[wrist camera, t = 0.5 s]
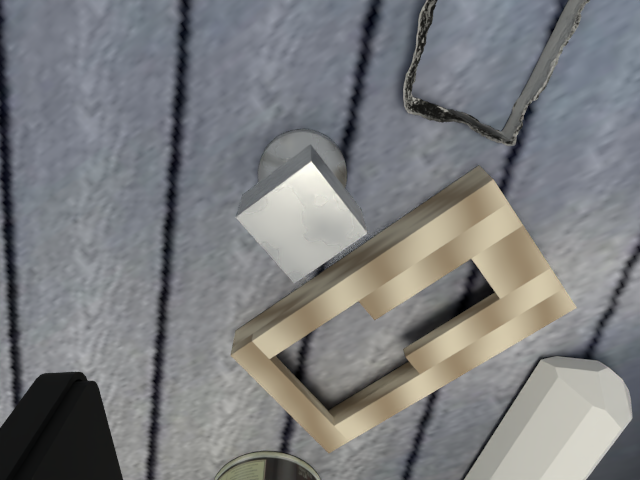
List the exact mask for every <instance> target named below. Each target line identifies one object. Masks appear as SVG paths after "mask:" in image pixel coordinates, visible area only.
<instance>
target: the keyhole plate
mask: <svg viewBox="0 0 640 480" xmlns="http://www.w3.org/2000/svg"><path fill="white" fill-rule="evenodd" d="M470 259H472V260H473V262H474V263H475V264H476V266H477V267H478V269H479V270H480V271H481V273H482V274H483V276H484V277H485V278H486V280H487V281H488V283H489V284H490V285H491V287H492V288H493V290H494V291H495V293H493V294H492V295H490V296H488V297H487V298H485V299H484V300H482V301H480V302H479V303H477V304H476V305H474V306H472V307H471V308H469V309H467V310H466V311H464V312H463V313H461V314H459V315H458V316H456V317H454V318H453V319H451V320H450V321H448V322H446V323H445V324H443V325H441V326H440V327H438V328H437V329H435V330H433V331H432V332H430V333H428V334H427V335H425V336H424V337H422V338H420V339H419V340H417V341H416V342H414V343H412V344H411V345H409V346H407V347H406V348H404V349H403V350H404V354H405V357H406V358H407V359H408V361H409V362H407V363H405V364H404V365H402V366H401V367H399V368H397V369H396V370H394V371H392V372H391V373H389V374H387V375H386V376H384V377H382V378H381V379H379V380H378V381H376V382H374V383H373V384H371V385H369V386H368V387H366V388H364V389H363V390H361V391H359V392H358V393H356V394H355V395H353V396H351V397H350V398H348V399H346V400H345V401H343V402H341V403H340V404H338V405H336V406H335V407H333V408H332V409H330V410H327V409H326V408H325V407H324V406H323V405H322V404H321V402H320V401H319V400H318V399H317V398H316V397H315V396H314V395H313V394H312V393H311V392H310V391H309V390H308V389H307V388H306V387H305V386H304V385H303V384H302V383H301V382H300V381H299V380H298V379H297V377H296V376H295V375H294V374H293V373H292V372H291V371H290V370H289V369H288V368H287V367H286V366H285V365H284V364H283V363H282V362H281V361H280V360H279V359H278V358H277V357H276V356H275V355H277V354H278V353H280V352H281V351H283V350H284V349H286V348H287V347H289V346H290V345H292V344H294V343H295V342H297V341H298V340H300V339H301V338H303V337H304V336H306V335H307V334H309V333H310V332H312V331H313V330H315V329H316V328H318V327H320V326H321V325H323V324H324V323H326V322H327V321H329V320H330V319H332V318H333V317H335V316H336V315H338V314H339V313H341V312H342V311H344V310H346V309H347V308H349V307H350V306H352V305H353V304H355V303H356V302H358V301H359V302H360V303H361V305H362V306H363V307H364V308H365V309H366V311H367V312H368V313H369V314H370V315H371V317H372V318H373V319H374V320H376V319H378V318H379V317H381V316H382V315H384V314H385V313H387V312H388V311H390V310H392V309H393V308H395V307H396V306H398V305H399V304H401V303H403V302H404V301H406V300H407V299H409V298H410V297H412V296H414V295H415V294H417V293H418V292H420V291H421V290H423V289H424V288H426V287H428V286H429V285H431V284H432V283H434V282H435V281H437V280H439V279H440V278H442V277H443V276H445V275H446V274H448V273H449V272H451V271H453V270H454V269H456V268H457V267H459V266H460V265H462V264H464V263H465V262H467V261H468V260H470ZM575 308H577V307H576V306H575V304H574V303H573V301H572V300H571V298H570V297H569V295H568V294H567V292H566V291H565V289H564V287H563V286H562V284H561V283H560V281H559V280H558V278H557V277H556V275H555V274H554V272H553V270H552V269H551V267H550V266H549V264H548V263H547V261H546V260H545V258H544V257H543V255H542V254H541V252H540V250H539V249H538V247H537V246H536V244H535V243H534V241H533V240H532V238H531V237H530V235H529V234H528V232H527V230H526V229H525V227H524V226H523V224H522V223H521V221H520V220H519V218H518V217H517V215H516V214H515V212H514V210H513V209H512V207H511V206H510V204H509V203H508V201H507V200H506V198H505V197H504V195H503V194H502V192H501V190H500V189H499V187H498V186H497V184H496V183H495V181H494V180H493V179H492V178H491V177H490V176H489V175H488V174H487V173H486V172H485V171H484V170H483V169H482V168H481V167H480V166H477V167H476V168H474V169H473V170H471V171H470V172H468V173H467V174H465V175H464V176H463V177H461V178H460V179H458V180H457V181H455V182H454V183H452V184H451V185H449V186H448V187H446V188H445V189H443V190H442V191H440V192H439V193H438V194H436V195H435V196H433V197H432V198H430V199H429V200H427V201H426V202H424V203H423V204H421V205H420V206H418V207H417V208H416V209H414V210H413V211H411V212H410V213H408V214H407V215H405V216H404V217H402V218H401V219H399V220H398V221H396V222H395V223H393V224H392V225H391V226H389V227H388V228H386V229H385V230H383V231H382V232H380V233H379V234H377V235H376V236H374V237H373V238H371V239H370V240H368V241H367V242H366V243H364V244H363V245H361V246H360V247H358V248H357V249H355V250H354V251H352V252H351V253H349V254H348V255H346V256H345V257H344V258H342V259H341V260H339V261H338V262H336V263H335V264H333V265H332V266H330V267H329V268H327V269H326V270H324V271H323V272H321V273H320V274H319V275H317V276H316V277H314V278H313V279H311V280H310V281H308V282H307V283H305V284H304V285H302V286H301V287H299V288H298V289H297V290H295V291H294V292H292V293H291V294H289V295H288V296H286V297H285V298H283V299H282V300H280V301H279V302H277V303H276V304H274V305H273V306H272V307H270V308H269V309H267V310H266V311H264V312H263V313H261V314H260V315H258V316H257V317H255V318H254V319H252V320H251V321H249V322H248V323H247V324H245V325H244V326H242V327H241V328H239V329H238V330H236V331H235V336H234V341H233V346H232V351H231V356H232V357H233V358H234V359H235V360H236V361H237V362H238V363H239V364H240V365H241V366H242V367H243V368H244V369H245V370H246V371H247V372H248V373H249V374H250V375H251V376H252V377H253V378H254V379H255V380H256V381H257V382H258V383H259V384H260V385H261V386H262V387H263V388H264V389H265V390H266V391H267V392H268V393H269V394H270V395H271V396H272V397H273V398H274V399H275V400H276V401H277V402H278V403H279V404H280V405H281V406H282V407H283V408H284V409H285V410H286V411H287V412H288V413H289V414H290V415H291V416H292V417H293V418H294V419H295V420H296V421H297V422H298V423H299V424H300V425H301V426H302V427H303V428H304V429H305V430H306V431H307V432H308V433H309V434H310V435H311V436H312V437H313V438H314V439H315V440H316V441H317V442H318V443H319V444H320V445H321V446H322V447H323V448H324V449H325V450H326V451H327V452H328V453H330V452H332V451H334V450H335V449H337V448H339V447H340V446H342V445H344V444H345V443H347V442H349V441H351V440H352V439H354V438H356V437H357V436H359V435H361V434H362V433H364V432H366V431H368V430H369V429H371V428H373V427H374V426H376V425H378V424H380V423H381V422H383V421H385V420H386V419H388V418H390V417H391V416H393V415H395V414H397V413H398V412H400V411H402V410H403V409H405V408H407V407H408V406H410V405H412V404H414V403H415V402H417V401H419V400H420V399H422V398H424V397H425V396H427V395H429V394H431V393H432V392H434V391H436V390H437V389H439V388H441V387H443V386H444V385H446V384H448V383H449V382H451V381H453V380H454V379H456V378H458V377H460V376H461V375H463V374H465V373H466V372H468V371H470V370H471V369H473V368H475V367H477V366H478V365H480V364H482V363H483V362H485V361H487V360H488V359H490V358H492V357H494V356H495V355H497V354H499V353H500V352H502V351H504V350H505V349H507V348H509V347H511V346H512V345H514V344H516V343H517V342H519V341H521V340H523V339H524V338H526V337H528V336H529V335H531V334H533V333H534V332H536V331H538V330H540V329H541V328H543V327H545V326H546V325H548V324H550V323H551V322H553V321H555V320H557V319H558V318H560V317H562V316H563V315H565V314H567V313H568V312H570V311H572V310H574V309H575Z"/></svg>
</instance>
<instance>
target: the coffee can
mask: <svg viewBox="0 0 640 480" xmlns="http://www.w3.org/2000/svg"><path fill="white" fill-rule="evenodd" d="M215 480H321V479H320V477H319V476H318V474H317V473H316V472H315V470H314V469H313V468H312V467H311V466H309V465H308V464H307V463H306V462H304V461H302V460H300V459H298V458H296V457H294V456H291V455H289V454H285V453H280V452H270V451H263V452H255V453H250V454H246V455H243V456H241V457H238V458H236V459H234V460H232V461H231V462H229V463H228V464H226V465H225V466H224V467H223V468H222V469H221V470H220V472H219V473H218V474H217V476H216V477H215Z"/></svg>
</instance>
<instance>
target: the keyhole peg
mask: <svg viewBox="0 0 640 480" xmlns="http://www.w3.org/2000/svg"><path fill="white" fill-rule="evenodd" d="M258 182H259V183H258V184H256V185H255V186H254V187H252V188H251V189H250V190H248V191H247V192H246V193H244V194H243V195H242V198H241V202H240V205H239V208H238V212H237V215H236V218H237V219H238V220H239V222H240V223H241V224H242V225H243V226H244V227H245V228H246V230H247V231H248V232H249V233H250V234H251V235H252V236H253V237H254V239H255V240H256V241H257V242H258V243H259V244H260V245H261V247H262V248H263V249H264V250H265V251H266V252H267V253H268V254H269V256H270V257H271V258H272V259H273V260H274V261H275V262H276V264H277V265H278V266H279V267H280V268H281V269H282V270H283V271H284V273H285V274H286V275H287V276H288V277H289V278H290V279H291V280H292V282H293V283H296V282H297V281H299V280H300V279H302V278H303V277H305V276H306V275H307V274H309V273H310V272H312V271H313V270H315V269H316V268H318V267H319V266H321V265H322V264H324V263H325V262H326V261H328V260H329V259H331V258H332V257H334V256H335V255H337V254H338V253H340V252H341V251H343V250H344V249H345V248H347V247H348V246H350V245H351V244H353V243H354V242H356V241H357V240H359V239H360V238H362V237H363V236H364V235H366V234H367V229H366V225H365V221H364V218H363V214H362V210H361V208H360V207H359V206H358V205H357V203H356V202H355V201H354V199H353V198H352V197H351V196H350V194H349V193H348V192H347V190H346V189H345V186H346V182H347V169H346V164H345V160H344V157H343V155H342V153H341V151H340V149H339V148H338V146H337V145H336V144H335V143H334V142H333V141H332V140H331V139H330V138H329V137H327V136H326V135H324V134H322V133H320V132H317V131H314V130H309V129H296V130H291V131H288V132H285V133H283V134H281V135H279V136H278V137H276V138H275V139H274V140H273V141H271V142H270V144H269V145H268V146H267V147H266V149H265V150H264V152H263V154H262V157H261V160H260V164H259V168H258Z"/></svg>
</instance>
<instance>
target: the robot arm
mask: <svg viewBox="0 0 640 480" xmlns="http://www.w3.org/2000/svg"><path fill="white" fill-rule="evenodd" d="M0 480H123V478H122V474H121V470H120V466H119V463H118V459H117V455H116V451H115V448H114V444H113V440H112V436H111V432H110V429H109V425H108V421H107V417H106V414H105V410H104V406H103V402H102V399H101V395H100V391H99V388H98V385H97V383H96V382H95V381H87V378H86V376H85V375H84V374H83V373H81V372H63V373H45V374H42V375H40V376H39V377H38V378H37V379H36V380H35V381H34V383H33V384H32V386H31V387H30V388H29V390H28V391H27V392H26V394H25V395H24V396H23V398H22V399H21V401H20V402H19V403H18V405H17V406H16V407H15V409H14V410H13V411H12V413H11V414H10V416H9V417H8V418H7V420H6V421H5V422H4V424H3V425H2V427H1V428H0Z"/></svg>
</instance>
